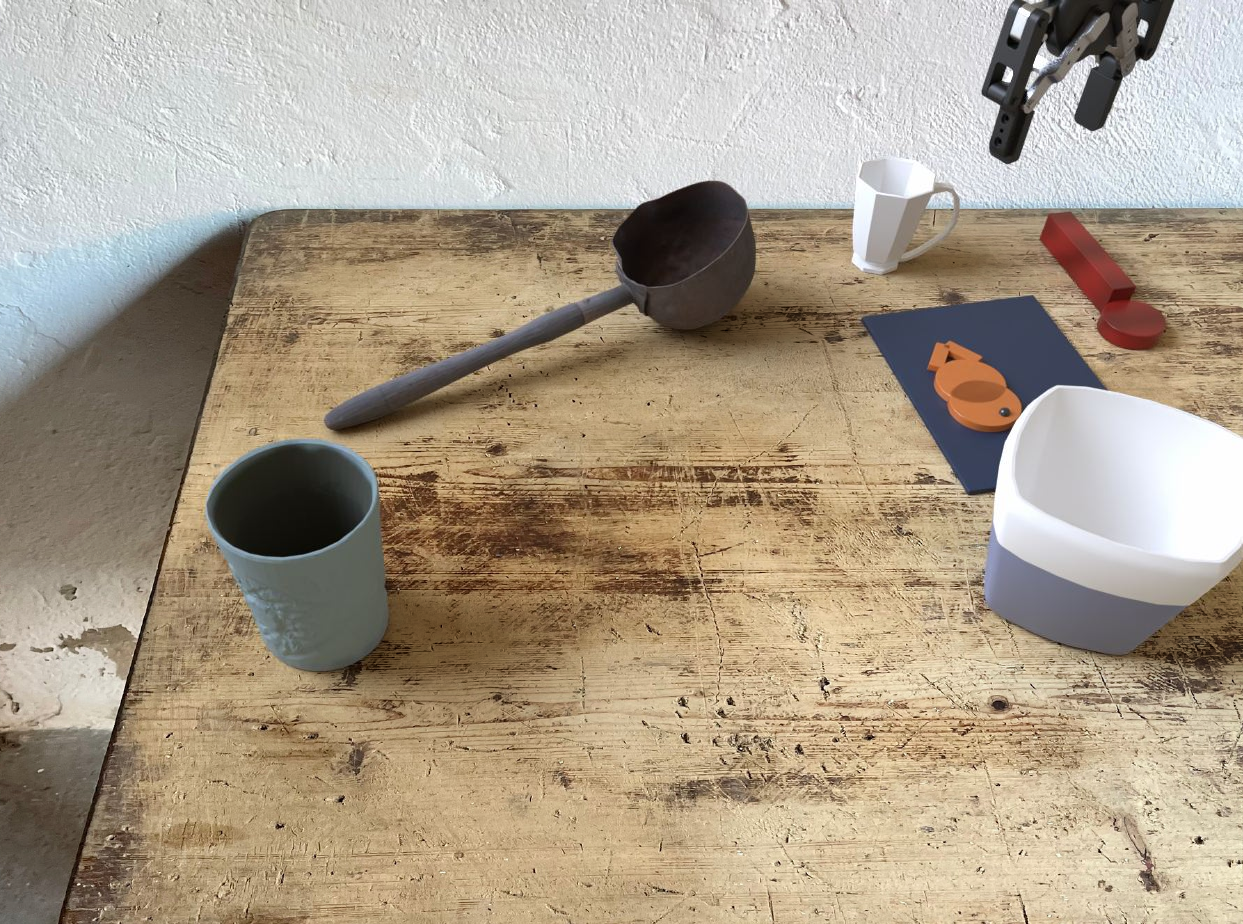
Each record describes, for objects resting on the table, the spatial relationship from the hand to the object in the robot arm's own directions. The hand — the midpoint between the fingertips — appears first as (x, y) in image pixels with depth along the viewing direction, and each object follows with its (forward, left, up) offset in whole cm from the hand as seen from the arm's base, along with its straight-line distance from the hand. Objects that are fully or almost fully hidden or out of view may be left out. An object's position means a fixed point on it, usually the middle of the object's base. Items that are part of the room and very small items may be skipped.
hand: (1045, 141), depth 80 cm
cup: (+2, -14, -18) cm, 23 cm away
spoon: (-14, -5, -18) cm, 23 cm away
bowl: (+5, +26, -18) cm, 32 cm away
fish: (+3, +5, -17) cm, 18 cm away
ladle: (+36, -6, -18) cm, 40 cm away
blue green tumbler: (+56, +19, -18) cm, 62 cm away
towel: (0, +5, -18) cm, 19 cm away
